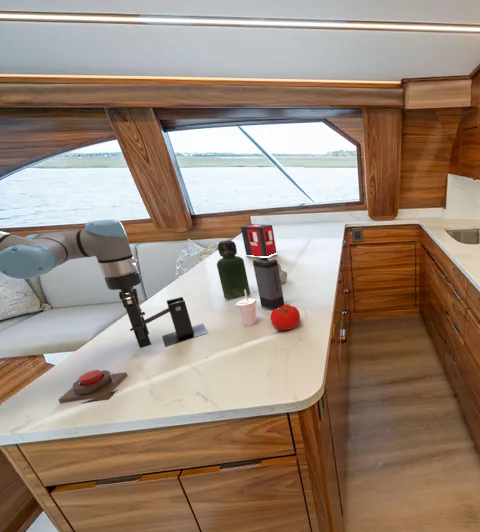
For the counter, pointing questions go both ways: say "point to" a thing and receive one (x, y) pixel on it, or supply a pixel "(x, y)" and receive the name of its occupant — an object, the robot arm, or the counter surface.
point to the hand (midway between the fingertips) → (144, 340)
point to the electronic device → (268, 283)
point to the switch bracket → (181, 324)
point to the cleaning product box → (258, 240)
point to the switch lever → (158, 315)
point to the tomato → (285, 317)
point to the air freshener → (282, 273)
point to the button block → (94, 388)
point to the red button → (90, 377)
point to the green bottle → (232, 271)
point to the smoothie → (247, 310)
